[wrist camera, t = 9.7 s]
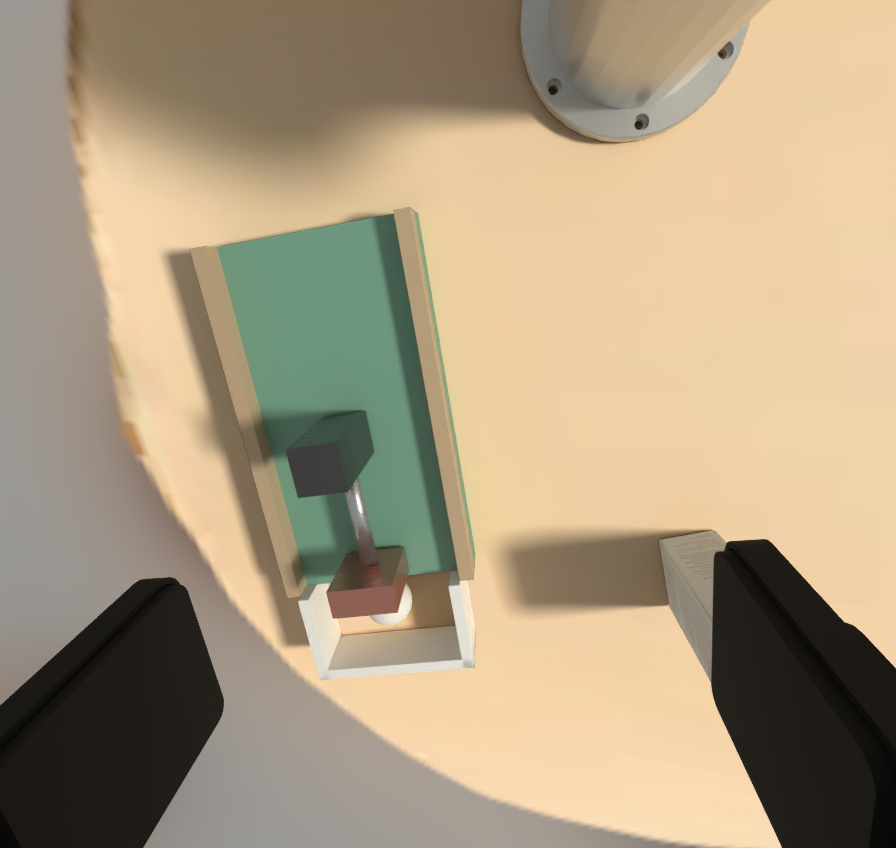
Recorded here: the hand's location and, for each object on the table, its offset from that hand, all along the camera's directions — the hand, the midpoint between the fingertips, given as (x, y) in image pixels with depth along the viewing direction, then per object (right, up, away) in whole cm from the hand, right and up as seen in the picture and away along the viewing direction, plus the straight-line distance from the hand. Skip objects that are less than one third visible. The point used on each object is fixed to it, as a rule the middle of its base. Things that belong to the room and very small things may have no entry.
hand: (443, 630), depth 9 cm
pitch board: (-7, +4, +29) cm, 30 cm away
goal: (-4, -11, +33) cm, 35 cm away
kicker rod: (-6, -2, +28) cm, 29 cm away
